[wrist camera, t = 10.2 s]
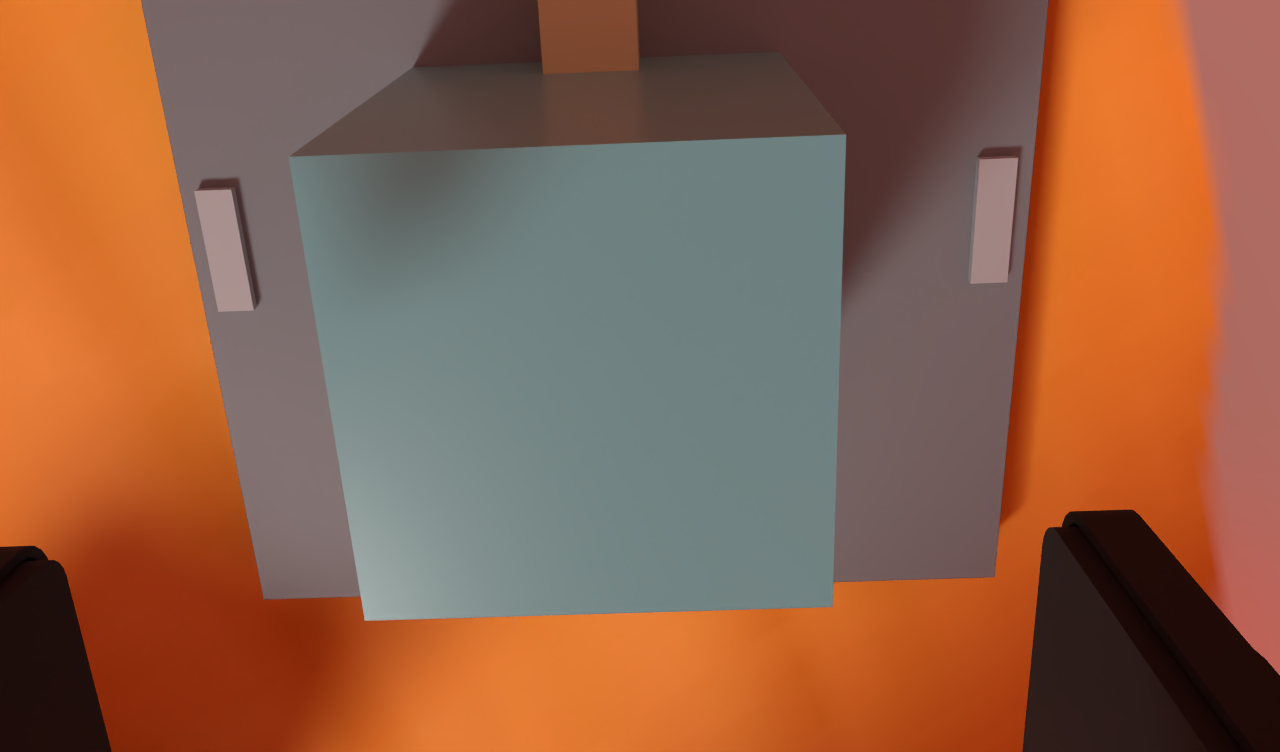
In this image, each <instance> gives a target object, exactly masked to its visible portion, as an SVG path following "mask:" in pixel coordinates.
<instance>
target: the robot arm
mask: <svg viewBox="0 0 1280 752" xmlns="http://www.w3.org/2000/svg"><path fill="white" fill-rule="evenodd" d="M0 752H111V748H110V744H109V740H108V736H107V732H106V728H105V724H104V720H103V716H102V713H101V709H100V705H99V701H98V697H97V693H96V689H95V685H94V681H93V677H92V674H91V670H90V666H89V662H88V658H87V654H86V650H85V646H84V642H83V638H82V635H81V631H80V627H79V623H78V619H77V615H76V611H75V607H74V603H73V599H72V596H71V592H70V588H69V584H68V580H67V576H66V574H65V571H64V568H63V567H62V566H61V564H60V563H59V562H57V561H55V560H48V558H47V556H46V555H45V554H44V552H43V551H42V550H41V549H39V548H37V547H35V546H15V547H0ZM1023 752H1280V675H1279V674H1278V673H1277V672H1276V671H1275V670H1274V669H1273V667H1272V666H1271V665H1270V664H1269V663H1268V661H1267V660H1266V659H1265V658H1264V657H1262V656H1261V655H1260V654H1259V653H1258V652H1257V651H1255V650H1254V649H1253V648H1252V647H1251V646H1250V644H1249V643H1248V642H1247V641H1246V640H1245V638H1244V637H1243V636H1242V635H1241V634H1240V633H1239V631H1238V630H1237V629H1236V628H1235V627H1234V626H1233V624H1232V623H1231V622H1230V621H1229V620H1228V619H1227V617H1226V616H1225V615H1224V614H1223V613H1222V612H1221V610H1220V609H1219V608H1218V607H1217V606H1216V605H1215V603H1214V602H1213V601H1212V600H1211V599H1210V597H1209V596H1208V595H1207V594H1206V593H1205V592H1204V590H1203V589H1202V588H1201V587H1200V586H1199V585H1198V583H1197V582H1196V581H1195V580H1194V579H1193V578H1192V576H1191V575H1190V574H1189V573H1188V572H1187V571H1186V569H1185V568H1184V567H1183V566H1182V565H1181V563H1180V562H1179V561H1178V560H1177V559H1176V558H1175V556H1174V555H1173V554H1172V553H1171V552H1170V551H1169V549H1168V548H1167V547H1166V546H1165V545H1164V544H1163V542H1162V541H1161V540H1160V539H1159V538H1158V537H1157V535H1156V534H1155V533H1154V532H1153V531H1152V529H1151V528H1150V527H1149V526H1148V525H1147V524H1146V522H1145V521H1144V520H1143V519H1142V518H1141V517H1140V515H1139V514H1137V513H1136V512H1135V511H1134V510H1105V511H1075V512H1069V513H1068V514H1067V515H1066V516H1065V519H1064V521H1063V524H1062V527H1052V528H1048V529H1047V530H1046V532H1045V535H1044V539H1043V545H1042V555H1041V565H1040V576H1039V586H1038V597H1037V607H1036V618H1035V628H1034V638H1033V649H1032V659H1031V670H1030V680H1029V690H1028V701H1027V711H1026V722H1025V732H1024V743H1023Z"/></svg>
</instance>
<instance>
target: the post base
mask: <svg viewBox="0 0 1280 752" xmlns="http://www.w3.org/2000/svg"><path fill="white" fill-rule="evenodd" d="M1048 1H1049V0H637V3H638V27H639V52H640V58H642V57H666V56H690V55H713V54H737V53H761V52H780V53H781V55H782V56H783V57H784V58H785V60H786V61H787V62H788V63H789V64H790V66H791V67H792V68H793V69H794V71H795V72H796V73H797V74H798V76H799V77H800V78H801V79H802V81H803V82H804V83H805V84H806V85H807V87H808V88H809V89H810V90H811V92H812V93H813V94H814V95H815V97H816V98H817V99H818V100H819V102H820V103H821V104H822V105H823V106H824V108H825V109H826V110H827V111H828V113H829V114H830V115H831V116H832V118H833V119H834V120H835V121H836V123H837V124H838V125H839V126H840V127H841V129H842V130H843V131H844V132H845V134H846V157H845V191H844V226H843V260H842V294H841V329H840V363H839V397H838V432H837V466H836V500H835V535H834V569H833V582H854V581H886V580H919V579H952V578H984V577H994V576H995V566H996V555H997V545H998V534H999V523H1000V513H1001V502H1002V491H1003V481H1004V470H1005V459H1006V449H1007V438H1008V427H1009V417H1010V406H1011V395H1012V385H1013V374H1014V363H1015V353H1016V342H1017V331H1018V321H1019V310H1020V299H1021V289H1022V278H1023V268H1024V257H1025V246H1026V236H1027V225H1028V214H1029V204H1030V193H1031V182H1032V172H1033V161H1034V150H1035V140H1036V129H1037V118H1038V108H1039V97H1040V86H1041V76H1042V65H1043V54H1044V44H1045V33H1046V22H1047V12H1048ZM141 3H142V8H143V12H144V17H145V22H146V27H147V32H148V37H149V42H150V47H151V52H152V56H153V61H154V66H155V71H156V76H157V81H158V86H159V91H160V95H161V100H162V105H163V110H164V115H165V120H166V125H167V130H168V134H169V139H170V144H171V149H172V154H173V159H174V164H175V169H176V173H177V178H178V183H179V188H180V193H181V198H182V203H183V208H184V212H185V217H186V222H187V227H188V232H189V237H190V242H191V247H192V251H193V256H194V261H195V266H196V271H197V276H198V281H199V286H200V290H201V295H202V300H203V305H204V310H205V315H206V320H207V325H208V329H209V334H210V339H211V344H212V349H213V354H214V359H215V364H216V368H217V373H218V378H219V383H220V388H221V393H222V398H223V403H224V407H225V412H226V417H227V422H228V427H229V432H230V437H231V442H232V446H233V451H234V456H235V461H236V466H237V471H238V476H239V481H240V485H241V490H242V495H243V500H244V505H245V510H246V515H247V520H248V524H249V529H250V534H251V539H252V544H253V549H254V554H255V559H256V563H257V568H258V573H259V578H260V583H261V588H262V593H263V598H264V600H266V599H299V598H332V597H361V595H360V589H359V583H358V577H357V571H356V565H355V559H354V553H353V547H352V540H351V534H350V528H349V522H348V516H347V510H346V504H345V498H344V492H343V486H342V480H341V474H340V467H339V461H338V455H337V449H336V443H335V437H334V431H333V425H332V419H331V413H330V407H329V401H328V394H327V388H326V382H325V376H324V370H323V364H322V358H321V352H320V346H319V340H318V334H317V328H316V321H315V315H314V309H313V303H312V297H311V291H310V285H309V279H308V273H307V267H306V261H305V254H304V248H303V242H302V236H301V230H300V224H299V218H298V212H297V206H296V200H295V194H294V188H293V181H292V175H291V169H290V163H289V156H290V155H292V154H293V153H294V152H296V151H297V150H299V149H300V148H301V147H303V146H304V145H306V144H307V143H308V142H310V141H311V140H313V139H314V138H315V137H317V136H318V135H319V134H321V133H322V132H324V131H325V130H326V129H328V128H329V127H331V126H332V125H333V124H335V123H336V122H338V121H339V120H340V119H342V118H343V117H344V116H346V115H347V114H349V113H350V112H351V111H353V110H354V109H356V108H357V107H358V106H360V105H361V104H363V103H364V102H365V101H367V100H368V99H369V98H371V97H372V96H374V95H375V94H376V93H378V92H379V91H381V90H382V89H383V88H385V87H386V86H387V85H389V84H390V83H392V82H393V81H394V80H396V79H397V78H399V77H400V76H401V75H403V74H404V73H406V72H407V71H408V70H410V69H411V68H412V67H428V66H452V65H476V64H499V63H523V62H542V53H541V39H540V26H539V12H538V0H141Z"/></svg>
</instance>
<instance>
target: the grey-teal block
mask: <svg viewBox="0 0 1280 752" xmlns="http://www.w3.org/2000/svg"><path fill="white" fill-rule="evenodd" d="M538 12H539V26H540V39H541V53H542V62H523V63H499V64H476V65H452V66H428V67H412V68H411V69H410V70H408V71H407V72H406V73H404V74H403V75H401V76H400V77H399V78H397V79H396V80H394V81H393V82H392V83H390V84H389V85H387V86H386V87H385V88H383V89H382V90H381V91H379V92H378V93H376V94H375V95H374V96H372V97H371V98H369V99H368V100H367V101H365V102H364V103H363V104H361V105H360V106H358V107H357V108H356V109H354V110H353V111H351V112H350V113H349V114H347V115H346V116H344V117H343V118H342V119H340V120H339V121H338V122H336V123H335V124H333V125H332V126H331V127H329V128H328V129H326V130H325V131H324V132H322V133H321V134H319V135H318V136H317V137H315V138H314V139H313V140H311V141H310V142H308V143H307V144H306V145H304V146H303V147H301V148H300V149H299V150H297V151H296V152H294V153H293V154H292V155H290V156H289V163H290V169H291V175H292V181H293V188H294V194H295V200H296V206H297V212H298V218H299V224H300V230H301V236H302V242H303V248H304V254H305V261H306V267H307V273H308V279H309V285H310V291H311V297H312V303H313V309H314V315H315V321H316V328H317V334H318V340H319V346H320V352H321V358H322V364H323V370H324V376H325V382H326V388H327V394H328V401H329V407H330V413H331V419H332V425H333V431H334V437H335V443H336V449H337V455H338V461H339V467H340V474H341V480H342V486H343V492H344V498H345V504H346V510H347V516H348V522H349V528H350V534H351V540H352V547H353V553H354V559H355V565H356V571H357V577H358V583H359V589H360V595H361V601H362V607H363V614H364V620H365V621H373V620H407V619H441V618H475V617H509V616H543V615H577V614H610V613H644V612H678V611H712V610H746V609H780V608H814V607H832V603H833V569H834V535H835V500H836V466H837V432H838V397H839V363H840V329H841V294H842V260H843V226H844V191H845V157H846V134H845V132H844V131H843V130H842V129H841V127H840V126H839V125H838V124H837V123H836V121H835V120H834V119H833V118H832V116H831V115H830V114H829V113H828V111H827V110H826V109H825V108H824V106H823V105H822V104H821V103H820V102H819V100H818V99H817V98H816V97H815V95H814V94H813V93H812V92H811V90H810V89H809V88H808V87H807V85H806V84H805V83H804V82H803V81H802V79H801V78H800V77H799V76H798V74H797V73H796V72H795V71H794V69H793V68H792V67H791V66H790V64H789V63H788V62H787V61H786V60H785V58H784V57H783V56H782V55H781V53H780V52H761V53H737V54H713V55H690V56H666V57H642V58H640V52H639V27H638V3H637V0H538Z"/></svg>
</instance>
